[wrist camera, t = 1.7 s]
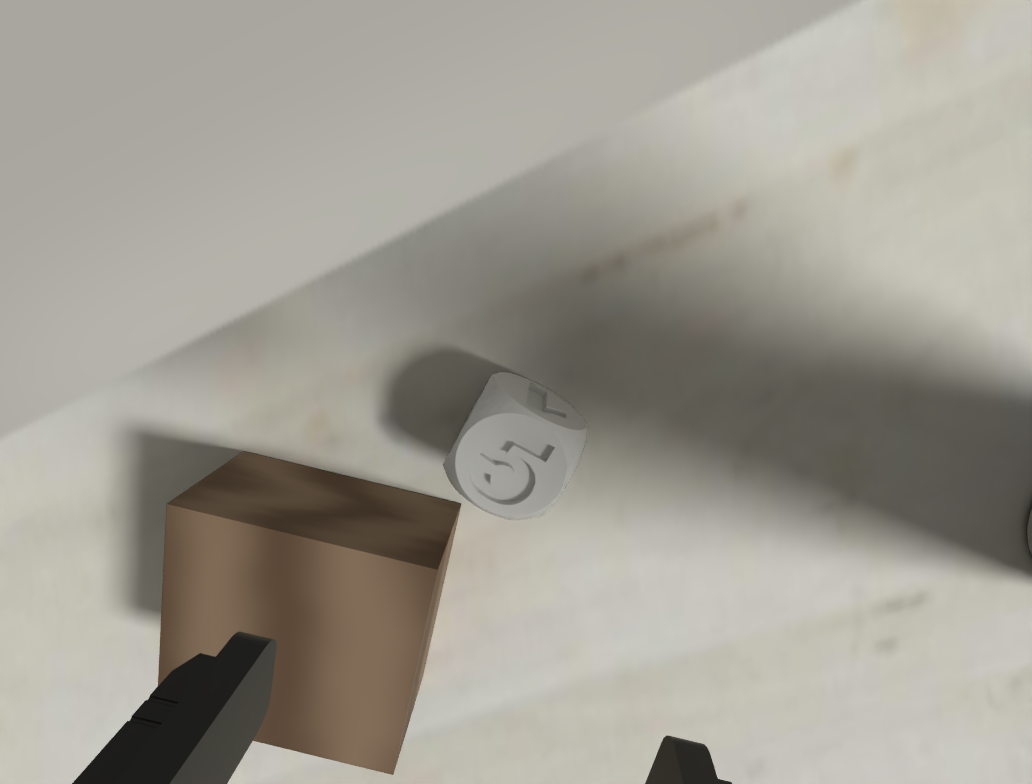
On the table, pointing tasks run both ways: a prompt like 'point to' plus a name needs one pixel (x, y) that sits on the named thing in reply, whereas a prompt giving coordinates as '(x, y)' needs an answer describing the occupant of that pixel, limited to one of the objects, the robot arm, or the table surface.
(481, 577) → the table surface
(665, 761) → the robot arm
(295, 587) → the pedestal
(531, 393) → the die
